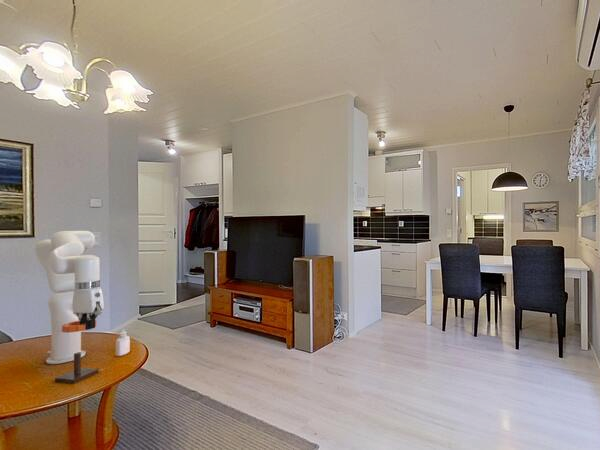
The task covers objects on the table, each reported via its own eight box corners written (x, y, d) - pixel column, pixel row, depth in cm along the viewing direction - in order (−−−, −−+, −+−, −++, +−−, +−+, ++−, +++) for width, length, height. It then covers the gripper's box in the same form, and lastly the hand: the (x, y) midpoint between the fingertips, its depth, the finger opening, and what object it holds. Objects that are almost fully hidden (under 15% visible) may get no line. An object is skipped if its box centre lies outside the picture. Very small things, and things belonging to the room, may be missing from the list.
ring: (55, 332, 126) (54, 326, 126) (82, 324, 136) (82, 318, 136) (76, 333, 125) (76, 327, 125) (102, 325, 135) (102, 319, 135)
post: (54, 381, 123) (54, 357, 123) (80, 371, 132) (80, 348, 132) (73, 383, 122) (74, 358, 122) (98, 372, 131) (98, 349, 131)
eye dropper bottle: (131, 352, 151) (132, 328, 151) (116, 357, 146) (117, 332, 146) (128, 350, 153) (128, 327, 153) (113, 355, 148) (113, 330, 148)
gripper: (113, 284, 133) (113, 326, 133) (81, 283, 134) (81, 325, 134) (94, 287, 125) (94, 332, 125) (60, 287, 127) (60, 331, 127)
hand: (87, 328), depth 130 cm, fingers closed on ring, 2 cm apart
